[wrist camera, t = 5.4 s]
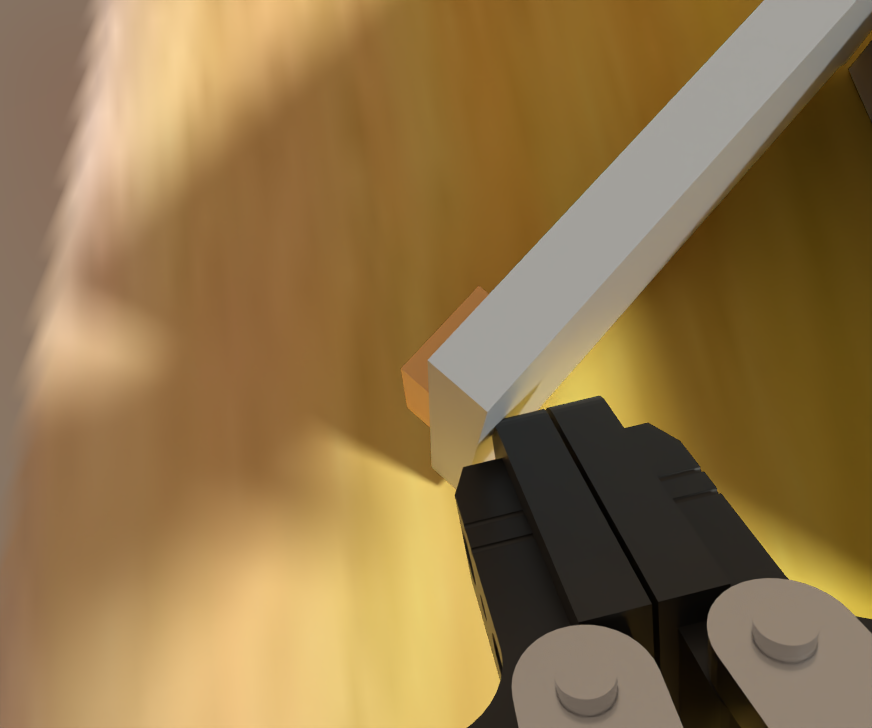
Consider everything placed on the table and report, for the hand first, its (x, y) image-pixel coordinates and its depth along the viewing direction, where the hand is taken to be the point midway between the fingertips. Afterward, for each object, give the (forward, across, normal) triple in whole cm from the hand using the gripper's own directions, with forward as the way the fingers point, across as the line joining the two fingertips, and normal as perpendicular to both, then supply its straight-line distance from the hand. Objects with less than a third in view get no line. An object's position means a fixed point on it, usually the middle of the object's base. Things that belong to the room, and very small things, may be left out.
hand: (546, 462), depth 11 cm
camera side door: (+6, -4, 0) cm, 8 cm away
